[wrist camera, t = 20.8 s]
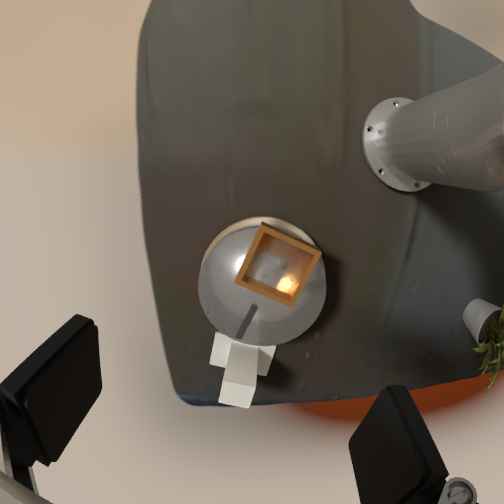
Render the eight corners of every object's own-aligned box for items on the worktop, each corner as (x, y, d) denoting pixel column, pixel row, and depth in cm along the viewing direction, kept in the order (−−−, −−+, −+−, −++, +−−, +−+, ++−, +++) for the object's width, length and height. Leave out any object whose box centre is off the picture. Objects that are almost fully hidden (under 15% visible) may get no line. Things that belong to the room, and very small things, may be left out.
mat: (276, 344, 42) (276, 346, 42) (266, 374, 44) (266, 376, 43) (216, 331, 42) (215, 332, 42) (209, 362, 44) (209, 363, 43)
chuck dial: (288, 348, 40) (290, 370, 35) (187, 306, 39) (177, 325, 34) (343, 254, 36) (353, 267, 31) (231, 202, 35) (225, 208, 30)
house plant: (430, 298, 39) (488, 355, 23) (490, 253, 36) (556, 289, 21) (446, 357, 42) (489, 415, 26) (500, 316, 39) (550, 360, 24)
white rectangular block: (231, 341, 42) (223, 380, 33) (258, 347, 42) (255, 387, 33) (226, 362, 43) (218, 402, 34) (252, 367, 43) (248, 408, 34)
